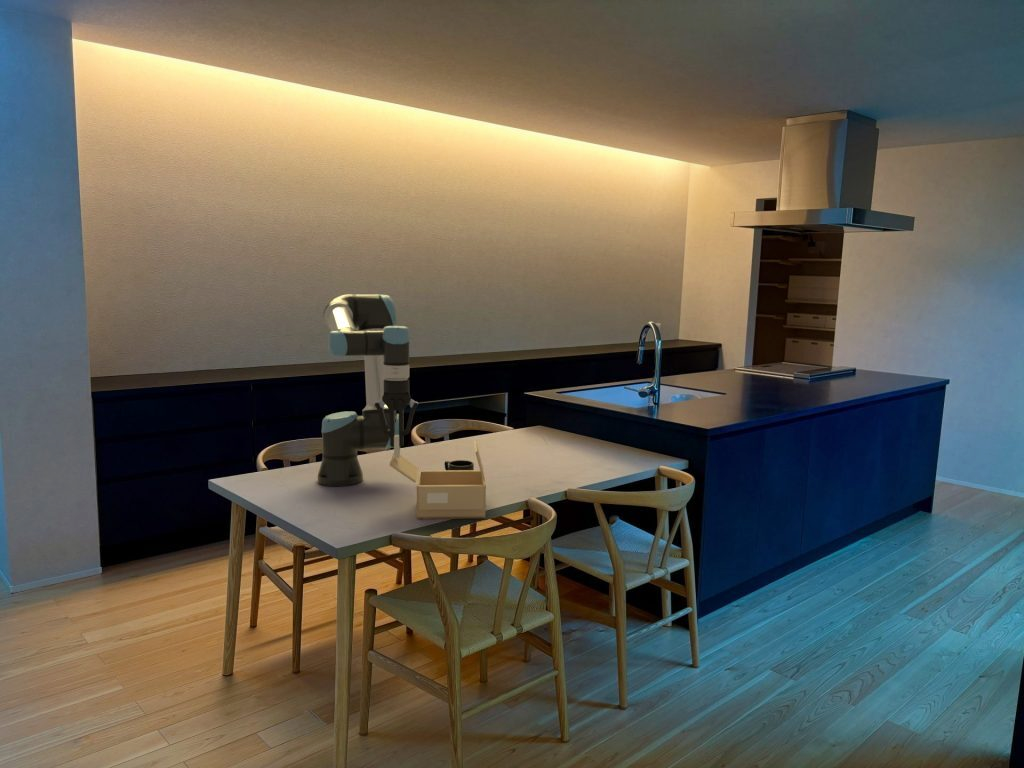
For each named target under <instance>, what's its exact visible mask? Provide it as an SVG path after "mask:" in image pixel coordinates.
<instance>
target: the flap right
mask: <svg viewBox="0 0 1024 768" xmlns="http://www.w3.org/2000/svg"><path fill="white" fill-rule="evenodd" d="M473 446H474V452H475V453H474V454H475V456H476V460H477V463H478V468H479V470H480V472H481V475H482V479H483V481H484V480H485V481H486V478H485V473H484V467H483V462H482V458H481V455H480V452H479V450H480V449H479V447H478V443H477V440H476V439H474V440H473Z"/></svg>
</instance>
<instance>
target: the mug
mask: <svg viewBox="0 0 1024 768" xmlns="http://www.w3.org/2000/svg"><path fill="white" fill-rule="evenodd" d="M443 465H444V469H445V470H475V469H474V467H475V466H474V465H475V464H474V462H473V461H470V460H467V459H466V460H465V459H464V460H463V459H458V460H452V461H449V460H447V461H445V462H444V464H443Z"/></svg>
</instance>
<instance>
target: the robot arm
mask: <svg viewBox="0 0 1024 768" xmlns="http://www.w3.org/2000/svg"><path fill="white" fill-rule="evenodd" d="M323 320H324V322H325V324H326V326H327V327H328V328H330V332H329V333H328V338H327V341H328V342H327V343H328V353H329V355H330V356H332V357H341V358H343V357H357V356H358V357H364V378H365V379H364V380H365V398H366V399H365V401H366V403H365V404H366V405H365V407H364V408H363V409H362V410H361V411H362V415H358V414H357V412H356V411H352V410H351V411H340V412H335V413H331V414H328V415H325V417H323V419H322V422H321V436H322V437H321V439H322V441H321V443H322V446H321V447H322V453H321V454H322V458H321V459H322V460H321V462H320V466H319V468H318V472H317V483H318V484H320V485H323V486H328V487H345V486H351V485H357V484H359V483H362V482H363V481H364V475H363V474H364V473H363V469H362V466H361V464H360V462H359V461H360V460H359V458H358V451H359V450H360V451H361V450H376V449H377V450H379V449H380V450H381V449H384V450H386V449H391V448H393V453H394V458H400V456H401V448H402V447H403V446H404V444H405V443H404V441H405V440H404V437H405V436H406V435H409V434H410V431H411V428H412V427H411V426H412V424H413V423H412V422H413V420H414V415H415V412H416V409H417V408H418V406H419V402H418V401H415V400H414V399H412V396H411V393H410V339H411V337H410V329H409V327H407V326H404V325H397V321H398V320H397V312H396V308H395V303H394V300H393V298H392V297H391V296H390V295H389V294H379V293H377V294H376V293H375V294H374V293H373V294H372V293H371V294H362V293H361V294H355V293H353V294H352V293H351V294H350V293H349V294H342V295H339V296H337V297H335V298H334V299H332V300H331V301H329V302H328V303H327V304H326V306H325V308H324V309H323ZM357 329H358V330H357ZM409 404H410V405H409ZM408 405H409V407H410V410H409V415H408V419H407V421H406V427H404V425H405V424H404V418H405V417H404V413H405V412H404V411H405V409H406V408H407V406H408ZM397 411H398V413H397ZM404 428H405V429H404Z"/></svg>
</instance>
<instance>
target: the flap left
mask: <svg viewBox="0 0 1024 768" xmlns="http://www.w3.org/2000/svg"><path fill="white" fill-rule="evenodd" d="M389 466H390V467H391V468H392V469H393V470H396V471H397V472H399V473H400V474H401V475H403V476H404V477H406V478H407V479H409V481H412V482H413V483H417V480H418V475H419V467H418V466H416V465H415V464H414V463H412V462H410V461H409V460H408V459H407V458H405V457H403V456H402V455H400V458H394V452H393V453H392V455H391V460H390V462H389Z"/></svg>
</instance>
